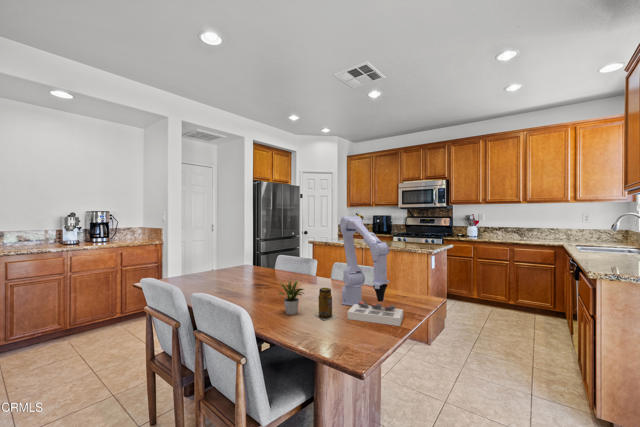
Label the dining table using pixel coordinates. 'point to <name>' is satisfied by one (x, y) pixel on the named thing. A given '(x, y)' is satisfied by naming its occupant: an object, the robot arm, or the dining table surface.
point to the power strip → (376, 315)
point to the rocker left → (363, 304)
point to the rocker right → (390, 307)
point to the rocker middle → (376, 306)
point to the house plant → (291, 297)
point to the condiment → (325, 304)
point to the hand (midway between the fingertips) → (380, 301)
